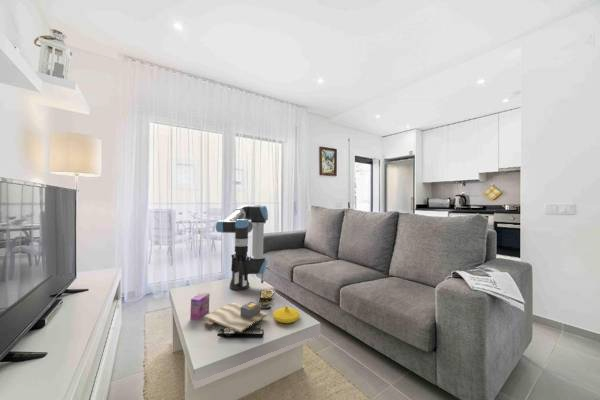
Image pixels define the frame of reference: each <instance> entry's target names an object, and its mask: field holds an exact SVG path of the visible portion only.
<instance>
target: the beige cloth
mask: <svg viewBox="0 0 600 400" xmlns="http://www.w3.org/2000/svg"><path fill="white" fill-rule="evenodd" d="M242 306H243V305H242V304H239V303H236V302H230V303H228V304H226V305H224V306H221V307H219V308H218V309H215V310H214V311H211V312H210V313H207V314H206V315H205V316H204V317H203V319H205V320H207V321H205V322H204V328H205V329H209V330H211V329H214V328H215V327H217V326H219V325H221V326H224V327H225V328H224V329H223V330H226V329H230V328H232V329H235V330H237V331H238V332H239V333H242V332H243V330H244V331H245V330H246V328H247V329H249V326H250V325H251V326H253V325H254V324H253V323H254V322H256V321H258V322H259V321H260V320H262V319H264V318H266V317H267V316H268V315H269V313H268V312H265V311H261V310H260V313H259V314H257V315H256V316H254V317H252V318H251V319H249V318H246V317H242V316H240V312H241V307H242ZM256 323H257V322H256ZM252 324H253V325H252ZM251 326H250V327H251Z"/></svg>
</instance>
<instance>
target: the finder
mask: <svg viewBox="0 0 600 400" xmlns="http://www.w3.org/2000/svg"><path fill="white" fill-rule="evenodd" d="M260 311H261V303H258V302H254V301H249V302H247V303H245V304H244V305H243V306H242V307H241V312H240V316H242V317H246V318H249V319H251V318H252V317H254V316H256V315H257V314H259V313H260Z"/></svg>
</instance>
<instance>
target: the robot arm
mask: <svg viewBox="0 0 600 400" xmlns="http://www.w3.org/2000/svg"><path fill="white" fill-rule="evenodd" d="M268 220H269V212H268V209H267V206H266V205H261V204H260V205H259V204H258V205H255V204H254V205H253V204H251V205H250V204H246V205H242V206H240V207H237V208H236V209H235V210H234V211H233V213H232V214H231V215H229V216H228V217H227V218H225V219H224V220H217V221H216V224H215V230H216V232H217V233H225V234H226V233H227V234H229V233H230V234H234V245H235V246H234V253H233V254H231V265H230V266H231V269H230V271H231V272H232V273H231V274H232V275H231V280H230V283H229V289H230V290H234V291H242V290H244V291H245V290H246V289H249V288H250V282H249V277H248V276H249V275H264V274H265V272H266V270H267V265H268V260H267V258H266V256H265V255H264V237H265V236H264V235H265V233H264V231H265V230H264V227H265V224H266V222H267V221H268ZM250 232H252V239H251V242H252V244H251V245H252V247H251V249H252V250H251V251H252V252H251V255H250V256H248V251H249V233H250Z"/></svg>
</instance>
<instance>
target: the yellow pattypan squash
mask: <svg viewBox="0 0 600 400" xmlns="http://www.w3.org/2000/svg"><path fill="white" fill-rule="evenodd" d="M300 316H301V313H300V312H299V311H298V310H297V309H295V308H293V307H289V306H285V307H280V308H277V309H276V310H275V311H274V312H273V313H272V317H273V319H274V320H275V321H276V322H278V323H282V324H291V323H294V322H296V321H298V320H299V319H300Z"/></svg>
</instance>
